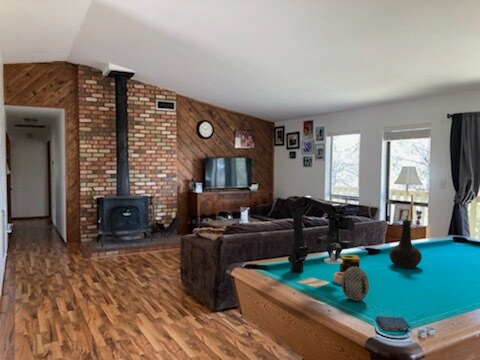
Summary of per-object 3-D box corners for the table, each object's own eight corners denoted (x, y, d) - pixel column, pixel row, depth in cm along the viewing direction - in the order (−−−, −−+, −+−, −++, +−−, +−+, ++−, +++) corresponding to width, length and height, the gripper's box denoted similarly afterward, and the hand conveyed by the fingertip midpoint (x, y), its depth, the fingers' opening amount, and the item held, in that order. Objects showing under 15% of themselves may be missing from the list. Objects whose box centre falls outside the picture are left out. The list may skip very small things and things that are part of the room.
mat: (296, 283, 191) (296, 281, 191) (310, 278, 199) (310, 277, 199) (316, 289, 182) (316, 287, 182) (330, 284, 191) (330, 282, 190)
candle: (360, 277, 202) (360, 259, 202) (340, 276, 204) (341, 258, 204) (358, 272, 212) (358, 255, 212) (339, 271, 214) (339, 254, 214)
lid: (320, 261, 191) (320, 252, 191) (330, 259, 197) (330, 250, 197) (336, 265, 184) (336, 255, 184) (346, 262, 190) (346, 253, 190)
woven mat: (374, 320, 147) (374, 314, 147) (402, 321, 146) (402, 316, 146) (381, 331, 137) (382, 326, 137) (412, 333, 136) (412, 327, 136)
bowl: (330, 283, 192) (331, 274, 192) (340, 279, 198) (340, 271, 198) (346, 287, 186) (347, 278, 185) (355, 283, 192) (356, 274, 192)
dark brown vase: (388, 268, 222) (390, 221, 221) (389, 261, 239) (390, 217, 238) (422, 271, 215) (423, 223, 214) (420, 264, 232) (421, 219, 231)
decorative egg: (353, 306, 160) (354, 271, 160) (335, 297, 171) (336, 264, 170) (374, 302, 165) (375, 268, 164) (356, 294, 176) (357, 262, 175)
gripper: (309, 228, 192) (308, 258, 192) (341, 232, 178) (341, 265, 178) (322, 226, 199) (321, 255, 199) (353, 230, 185) (353, 261, 186)
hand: (333, 259), depth 191 cm, fingers closed on lid, 3 cm apart
